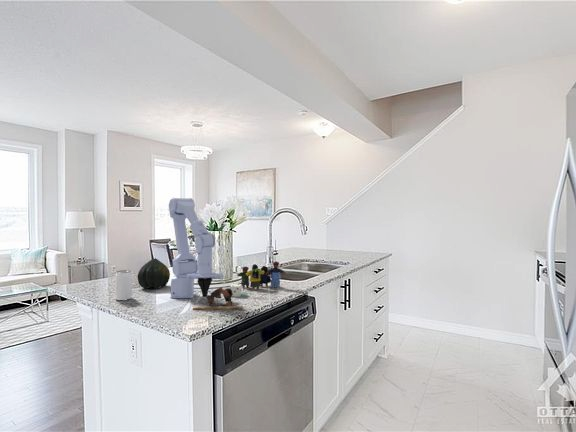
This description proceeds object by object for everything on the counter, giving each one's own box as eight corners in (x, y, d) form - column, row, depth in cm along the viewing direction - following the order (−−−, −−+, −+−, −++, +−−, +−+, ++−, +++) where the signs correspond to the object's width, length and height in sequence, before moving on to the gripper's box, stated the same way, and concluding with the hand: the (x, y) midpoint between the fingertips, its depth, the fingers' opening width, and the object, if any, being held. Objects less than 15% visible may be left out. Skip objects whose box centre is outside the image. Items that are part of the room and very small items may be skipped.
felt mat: (230, 297, 143) (230, 296, 143) (233, 293, 150) (233, 292, 150) (246, 297, 143) (246, 296, 143) (248, 293, 150) (248, 292, 150)
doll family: (278, 284, 170) (278, 258, 170) (286, 288, 162) (286, 261, 162) (236, 289, 159) (236, 262, 159) (242, 293, 151) (242, 264, 151)
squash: (148, 281, 150) (164, 254, 160) (126, 280, 157) (142, 254, 166) (166, 296, 160) (180, 270, 169) (145, 294, 166) (159, 269, 175)
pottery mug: (226, 311, 125) (215, 293, 124) (210, 319, 129) (199, 301, 129) (242, 296, 135) (232, 279, 135) (226, 303, 140) (216, 287, 139)
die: (229, 296, 143) (229, 286, 143) (231, 294, 148) (231, 283, 148) (240, 296, 143) (240, 286, 143) (241, 294, 148) (241, 283, 148)
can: (135, 298, 142) (135, 270, 142) (122, 301, 136) (122, 273, 136) (125, 296, 145) (125, 269, 145) (111, 300, 139) (111, 271, 139)
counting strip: (192, 309, 125) (192, 307, 125) (194, 308, 127) (194, 306, 127) (242, 309, 125) (242, 307, 125) (243, 308, 127) (243, 306, 127)
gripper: (184, 264, 130) (184, 299, 130) (220, 264, 130) (220, 299, 130) (189, 262, 137) (189, 294, 137) (224, 262, 137) (224, 294, 137)
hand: (205, 296), depth 134 cm, fingers closed
